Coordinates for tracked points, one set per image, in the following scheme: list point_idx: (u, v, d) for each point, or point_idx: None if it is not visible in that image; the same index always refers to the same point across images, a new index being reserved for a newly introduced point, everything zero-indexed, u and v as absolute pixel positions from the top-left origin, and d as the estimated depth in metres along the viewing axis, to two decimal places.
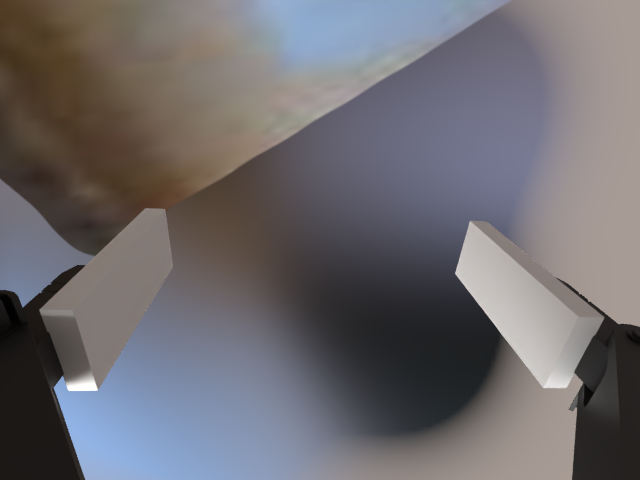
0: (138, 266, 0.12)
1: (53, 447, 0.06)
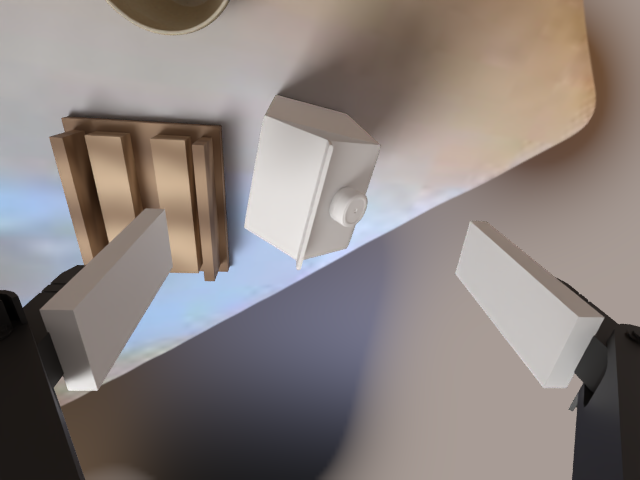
0: (138, 266, 0.12)
1: (53, 447, 0.06)
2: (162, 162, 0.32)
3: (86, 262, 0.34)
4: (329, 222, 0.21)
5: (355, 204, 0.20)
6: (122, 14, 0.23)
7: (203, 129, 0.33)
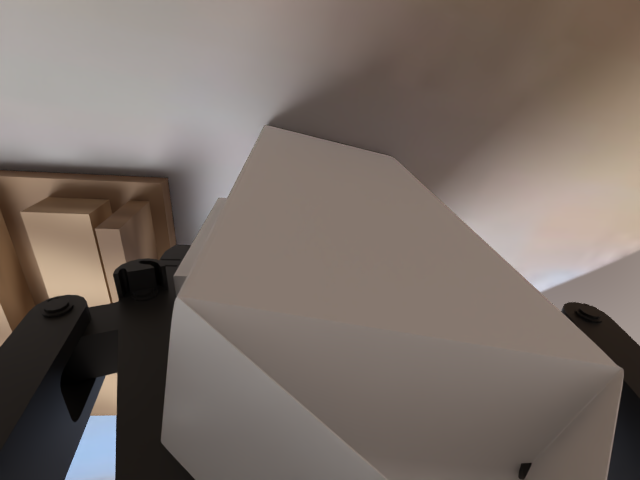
0: None
1: None
2: (51, 252, 0.17)
3: None
4: None
5: None
6: None
7: (132, 187, 0.18)
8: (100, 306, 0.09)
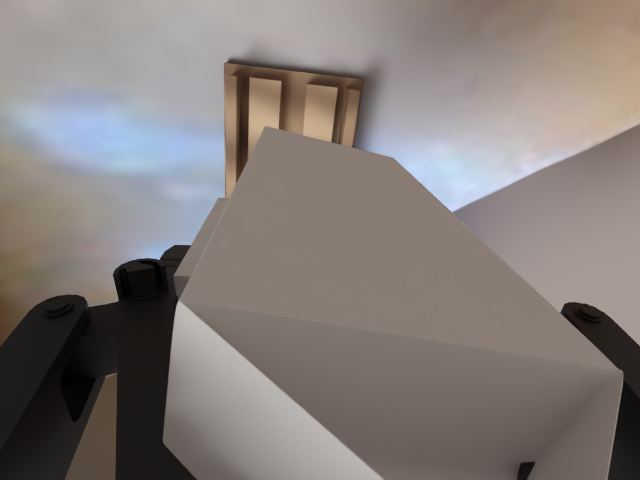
0: None
1: None
2: (313, 108, 0.35)
3: None
4: None
5: None
6: None
7: (348, 80, 0.36)
8: (100, 306, 0.09)
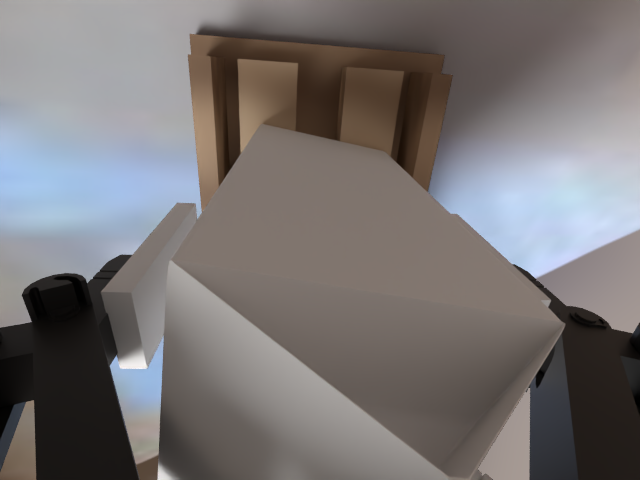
0: None
1: (109, 421, 0.06)
2: (357, 112, 0.19)
3: None
4: None
5: None
6: None
7: (418, 58, 0.20)
8: (17, 326, 0.09)
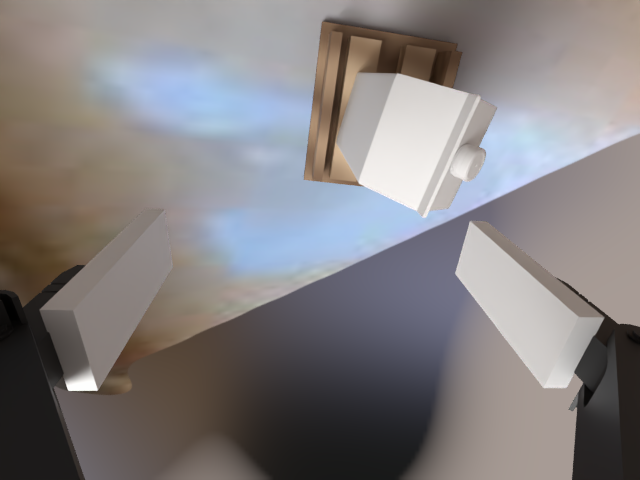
0: (138, 266, 0.12)
1: (52, 448, 0.06)
2: (409, 70, 0.35)
3: (317, 163, 0.37)
4: (447, 177, 0.22)
5: (478, 159, 0.21)
6: None
7: (442, 44, 0.36)
8: None
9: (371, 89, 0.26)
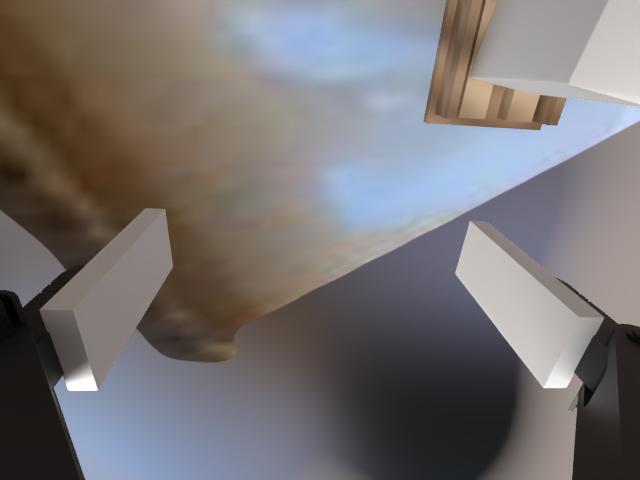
0: (138, 266, 0.12)
1: (53, 447, 0.06)
2: None
3: (453, 98, 0.36)
4: None
5: None
6: None
7: None
8: None
9: None
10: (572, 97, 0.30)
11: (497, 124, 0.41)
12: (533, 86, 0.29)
